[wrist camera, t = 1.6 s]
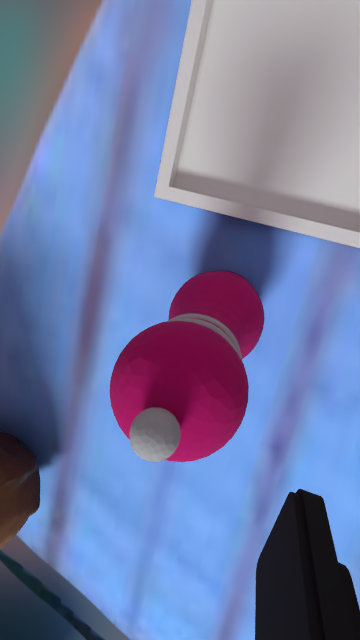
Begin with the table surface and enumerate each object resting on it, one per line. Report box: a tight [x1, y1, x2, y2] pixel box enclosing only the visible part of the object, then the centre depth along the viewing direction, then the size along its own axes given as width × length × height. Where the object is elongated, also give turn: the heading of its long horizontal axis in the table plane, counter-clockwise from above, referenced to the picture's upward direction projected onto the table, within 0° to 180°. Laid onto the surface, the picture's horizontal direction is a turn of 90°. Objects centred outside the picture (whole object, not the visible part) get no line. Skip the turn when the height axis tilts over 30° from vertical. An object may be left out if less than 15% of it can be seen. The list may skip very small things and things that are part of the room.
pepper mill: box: [110, 271, 264, 462], centre depth 20 cm, size 7×7×20 cm
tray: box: [154, 0, 360, 248], centre depth 22 cm, size 17×17×2 cm
